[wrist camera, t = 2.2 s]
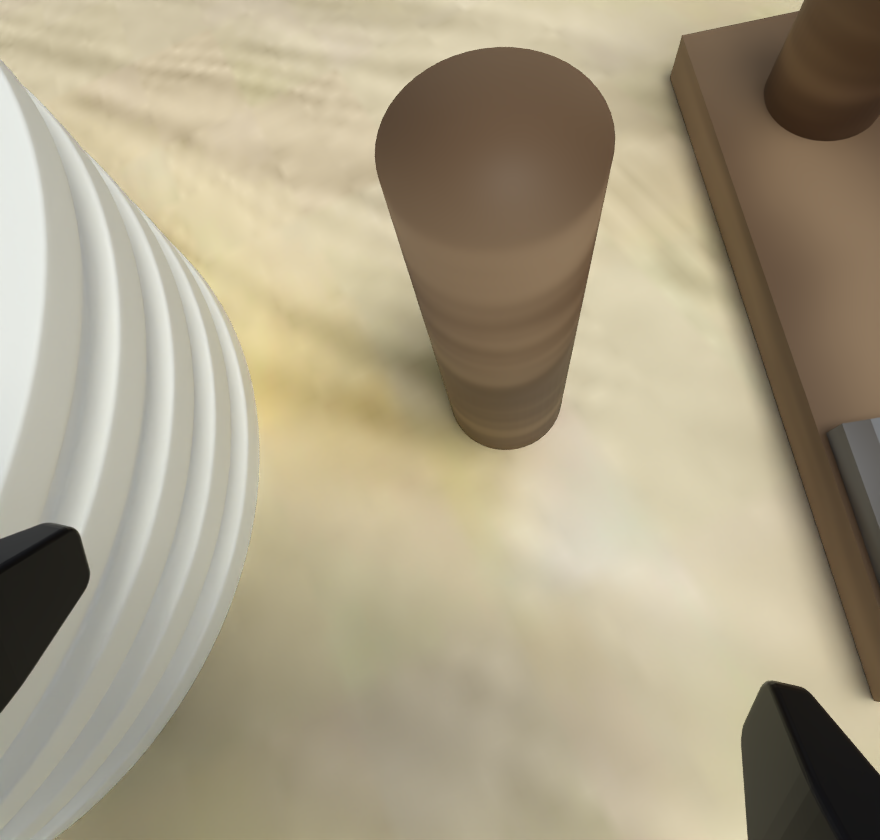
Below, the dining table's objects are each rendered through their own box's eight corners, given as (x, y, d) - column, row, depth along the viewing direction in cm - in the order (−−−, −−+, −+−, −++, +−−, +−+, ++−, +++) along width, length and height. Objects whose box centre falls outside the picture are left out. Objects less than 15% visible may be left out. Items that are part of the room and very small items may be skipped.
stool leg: (552, 458, 22) (597, 259, 10) (441, 439, 23) (349, 230, 10) (569, 354, 23) (629, 54, 11) (462, 338, 24) (403, 40, 11)
